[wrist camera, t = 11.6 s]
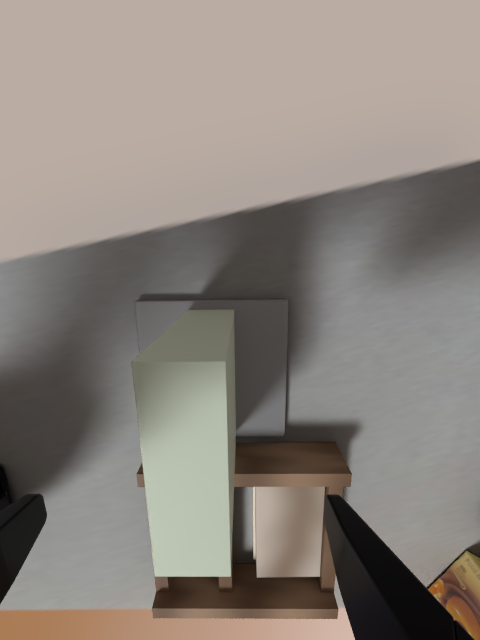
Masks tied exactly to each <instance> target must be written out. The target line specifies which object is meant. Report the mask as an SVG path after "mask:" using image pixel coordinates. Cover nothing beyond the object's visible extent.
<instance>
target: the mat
mask: <svg viewBox="0 0 480 640" xmlns="http://www.w3.org/2000/svg"><path fill="white" fill-rule="evenodd" d="M288 307H289V300H288V299H248V300H138V301H135V312H136V322H137V332H138V342H139V352H140V354H141V353H142V352H143V351H144V350H145V349H146V348H147V347H148V346H149V345H151V344H152V343H153V342H154V341H155V340H156V339H157V338H158V337H159V336H160V335H161V334H163V333H164V332H165V331H166V330H167V329H168V328H169V327H170V326H171V325H172V324H173V323H175V322H176V321H177V320H178V319H179V318H180V317H181V316H182V315H183V314H184V313H185V312H187V311H188V310H234V331H235V394H236V436H284V435H285V403H286V371H287V339H288Z"/></svg>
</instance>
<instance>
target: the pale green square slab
mask: <svg viewBox="0 0 480 640" xmlns="http://www.w3.org/2000/svg"><path fill="white" fill-rule="evenodd" d="M131 363H132V372H133V381H134V391H135V400H136V409H137V418H138V427H139V436H140V446H141V455H142V464H143V473H144V482H145V491H146V501H147V510H148V519H149V528H150V537H151V546H152V555H153V565H154V574H155V577H231V559H232V531H233V503H234V475H235V448H236V394H235V331H234V310H188V311H187V312H185V313H184V314H183V315H182V316H181V317H180V318H179V319H178V320H177V321H176V322H175V323H173V324H172V325H171V326H170V327H169V328H168V329H167V330H166V331H165V332H164V333H163V334H161V335H160V336H159V337H158V338H157V339H156V340H155V341H154V342H153V343H152V344H151V345H149V346H148V347H147V348H146V349H145V350H144V351H143V352H142V353H141V354H140V355H139V356H137V357H136V358H135V359H134V360H133V361H132V362H131Z"/></svg>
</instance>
